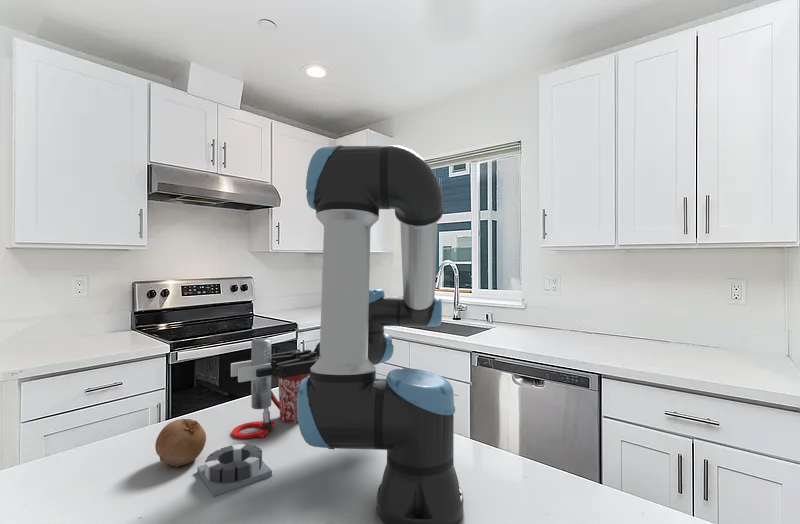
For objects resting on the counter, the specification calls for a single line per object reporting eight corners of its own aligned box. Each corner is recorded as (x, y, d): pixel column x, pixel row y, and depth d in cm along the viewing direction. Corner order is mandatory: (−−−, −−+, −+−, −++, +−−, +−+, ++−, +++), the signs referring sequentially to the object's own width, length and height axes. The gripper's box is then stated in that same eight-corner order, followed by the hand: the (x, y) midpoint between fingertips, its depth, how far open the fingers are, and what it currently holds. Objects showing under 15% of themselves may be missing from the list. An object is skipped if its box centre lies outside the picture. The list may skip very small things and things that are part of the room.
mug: (316, 412, 115) (316, 364, 114) (303, 425, 106) (303, 373, 105) (274, 408, 117) (274, 361, 116) (258, 421, 108) (258, 370, 108)
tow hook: (225, 440, 98) (263, 440, 97) (223, 387, 98) (261, 386, 97) (241, 426, 106) (276, 425, 106) (238, 376, 106) (274, 375, 106)
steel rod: (274, 406, 87) (274, 340, 86) (255, 410, 84) (255, 342, 84) (267, 401, 90) (267, 337, 90) (248, 405, 87) (248, 339, 87)
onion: (200, 473, 88) (222, 432, 88) (156, 481, 80) (179, 436, 80) (182, 445, 93) (202, 406, 93) (140, 450, 86) (161, 407, 86)
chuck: (272, 475, 82) (272, 458, 82) (213, 496, 75) (213, 477, 74) (251, 454, 90) (251, 438, 90) (197, 471, 83) (197, 454, 83)
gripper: (354, 379, 92) (249, 402, 77) (318, 363, 105) (222, 380, 90) (354, 346, 91) (249, 362, 77) (318, 334, 105) (222, 346, 90)
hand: (235, 372), depth 83 cm, fingers closed on steel rod, 4 cm apart
